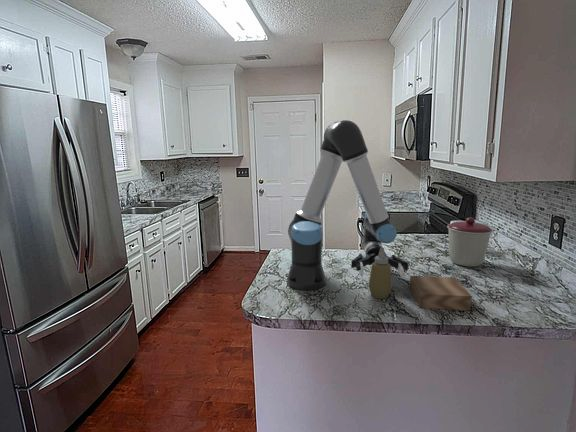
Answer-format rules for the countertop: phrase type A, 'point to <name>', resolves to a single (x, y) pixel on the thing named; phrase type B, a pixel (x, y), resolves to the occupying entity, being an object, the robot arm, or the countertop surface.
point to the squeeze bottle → (380, 276)
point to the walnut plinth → (439, 293)
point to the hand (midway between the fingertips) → (382, 272)
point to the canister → (468, 242)
